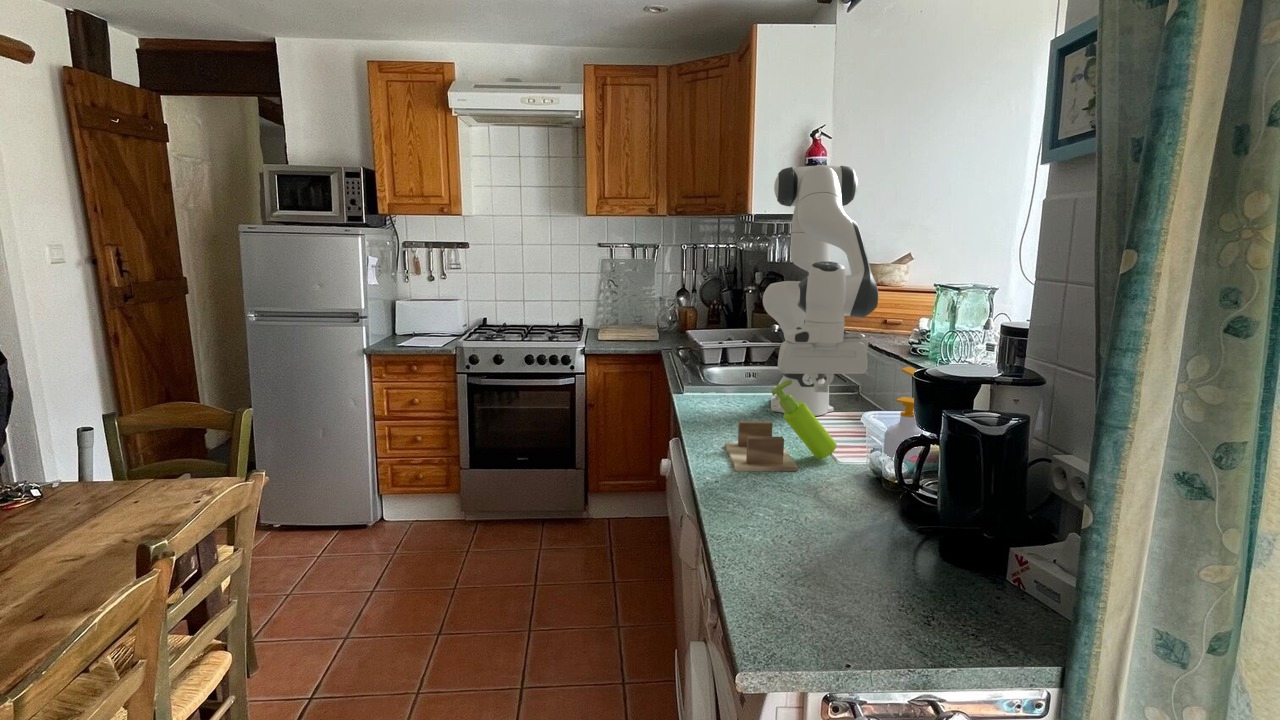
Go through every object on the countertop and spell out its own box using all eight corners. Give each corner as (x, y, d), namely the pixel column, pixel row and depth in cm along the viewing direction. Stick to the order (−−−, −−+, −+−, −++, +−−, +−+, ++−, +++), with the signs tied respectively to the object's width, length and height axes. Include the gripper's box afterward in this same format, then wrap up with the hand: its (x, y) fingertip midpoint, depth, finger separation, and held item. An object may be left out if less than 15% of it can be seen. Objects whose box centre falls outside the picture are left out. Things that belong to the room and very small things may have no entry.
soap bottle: (893, 469, 153) (900, 362, 149) (933, 479, 147) (942, 368, 142) (874, 478, 147) (882, 368, 142) (915, 489, 141) (925, 374, 136)
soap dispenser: (842, 447, 156) (791, 384, 152) (816, 463, 158) (766, 400, 154) (838, 436, 162) (789, 374, 158) (814, 450, 164) (765, 390, 160)
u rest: (724, 446, 169) (725, 419, 168) (780, 446, 169) (781, 419, 168) (735, 470, 151) (736, 441, 150) (797, 471, 152) (799, 441, 150)
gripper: (864, 331, 158) (860, 389, 161) (777, 331, 158) (775, 388, 160) (873, 335, 152) (869, 395, 155) (783, 335, 152) (780, 395, 154)
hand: (820, 392), depth 157 cm, fingers closed
